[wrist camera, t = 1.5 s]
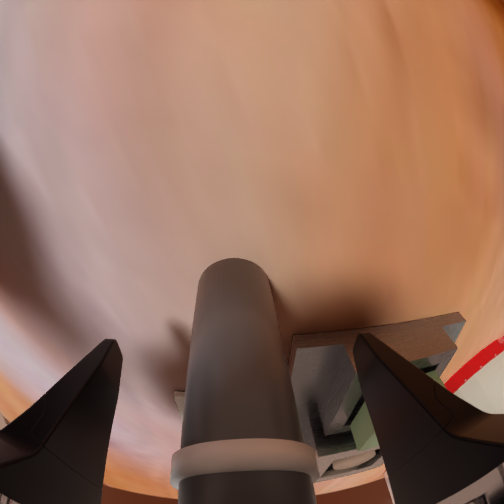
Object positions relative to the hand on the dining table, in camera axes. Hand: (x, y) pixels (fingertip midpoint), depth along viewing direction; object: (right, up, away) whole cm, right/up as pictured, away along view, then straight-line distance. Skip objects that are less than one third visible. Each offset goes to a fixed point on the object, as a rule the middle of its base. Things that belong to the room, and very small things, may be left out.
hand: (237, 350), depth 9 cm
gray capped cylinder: (0, +2, +3) cm, 4 cm away
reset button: (+9, -13, +9) cm, 18 cm away
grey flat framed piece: (+8, -8, +9) cm, 15 cm away
